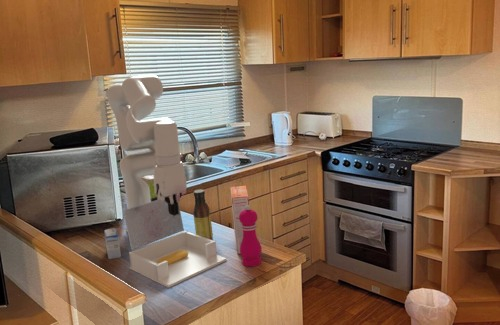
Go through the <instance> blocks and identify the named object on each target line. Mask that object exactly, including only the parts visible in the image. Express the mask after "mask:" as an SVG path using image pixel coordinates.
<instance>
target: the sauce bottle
mask: <svg viewBox="0 0 500 325" xmlns="http://www.w3.org/2000/svg"><path fill="white" fill-rule="evenodd" d="M205 193H206V192H205V190H204V189H195V190H194V191H193V196H194V206H193V207H194V208H193V213H192V214H193V222H194V231H195V234H196V235H199V236H202V237H205V238H207V239H210V240H213V239H214V234H213V227H212V225H213V224H212V216H211V213H210V207H209V204H207V203H206V197H205ZM213 241H214V240H213Z"/></svg>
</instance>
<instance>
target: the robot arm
mask: <svg viewBox="0 0 500 325" xmlns="http://www.w3.org/2000/svg"><path fill="white" fill-rule="evenodd" d="M163 93H164V86H163V82H162V80H161V79H160V78H159V77H158V76H157V75H155V74H149V75H148V74H147V75H138V76H137V75H136V76H130V77H127V78H126V79H124V80H123V82H122V83H118V84H114V85H111V86H109V87H108V89H107V93H106V95H107V96H106V97H107V100H108V104H109V106H110V109H111V111H112V112H113V115H114V117H115V120H116V128H117V134H118V140H119V145H120V148H121V149H122V150H123V152H135V151H141V150H148V151H145V152H138V153H134V154H133V153H132V154H128V155H125V156H124V157H122V158H121V159H120V161H119V170H120V173H121V176H122V179H123V184H124V191H125V197H126V206H127V209H130V208H133V207H136V206H140V205H143V204H146V203H149V202H151V199H150V191H149V186H148V184H147V183H146V182H145V181H143V180H142V177H144V176H149V175H154V191H155V194H156V195H158V198H157V200H159V201H165V202H166V203H168V210H169V214H171V215H174V216H175V215H176V214H177V215H178V214H179V207H180V205H179V206H178V202H179V203H180V201H181V197H182V196H183V195H185V194H186V193H187V188H188V186H187V176H186V171H185V167H184V164H183V162H182V161H181V158H183V153H180V143H179V142H180V141H179V132H178V125H177V122H175V121H174V120H172V119H171V118H169V117H157V118H151V119H145V118H146V117H148V116H150V115H151V114H152V113H153V112H154V111H155V109H156V106H157V103H156V101H157V100H159V99H160V98H161V97H162V95H163ZM126 232H127V233H128V231H127V230H126Z"/></svg>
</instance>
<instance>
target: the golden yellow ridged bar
mask: <svg viewBox="0 0 500 325" xmlns="http://www.w3.org/2000/svg"><path fill="white" fill-rule="evenodd" d="M187 256H188V252H187V251H184V250H180V251H177V252H175V253H172V254H170V255H168V256H165V257H163V258H160V259H158V261H157V262H158V264H159V263H161V262H164V261H168V265H169V264H171V263H173V262H176V261H178V260H180V259H183V258H185V257H187Z"/></svg>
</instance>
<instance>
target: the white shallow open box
mask: <svg viewBox="0 0 500 325" xmlns="http://www.w3.org/2000/svg"><path fill="white" fill-rule="evenodd" d="M180 250H184V251H187V252H188V256H187V257H185V258H183V259H180V260H178V261H176V262H173V263H171V264H169V265H168V261H164V262H161V263H159V264H158V262H157V261H158V259H160V258H163V257H165V256H168V255H170V254H172V253H175V252H177V251H180ZM128 256H129V258H128V259H129V264H130V266H129V269H130V270H132V271H134V272H136V273H138V274H140V275H142V276H143V277H146V278H148V279H150V280H152V281H154V282H156V283H158V284H160V285H162V286H165V287H166V288H171V287H173V286H175V285H177V284H179V283H182V282H184V281H186V280H188V279H191V278H192V277H195V276H196V275H199V274H201V273H203V272H206V271H207V270H209V269H212V268H213V267H216V266H218V265H220V264H223V263H224V262H227V258H226V257H224V256H221V255H219V254H217V242H216V240H210V239H207V238H205V237H202V236H199V235H196V233H192V232H190V231H188V230H184V231H181V232H178V233H176V234H173V235H171V236H168V237H165V238H163V239H160V240H157V241H155V242H152V243H149V244H147V245H144V246H142V247H139V248H136V249H134V250H131V251H129V252H128Z"/></svg>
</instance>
